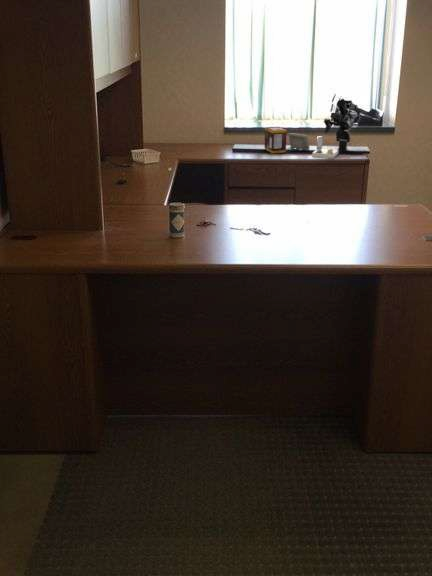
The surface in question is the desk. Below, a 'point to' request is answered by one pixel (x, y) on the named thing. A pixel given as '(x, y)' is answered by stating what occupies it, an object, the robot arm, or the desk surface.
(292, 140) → the digital clock
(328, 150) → the gauge board
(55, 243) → the desk surface
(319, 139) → the steel pin
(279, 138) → the supplement box
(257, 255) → the desk surface
